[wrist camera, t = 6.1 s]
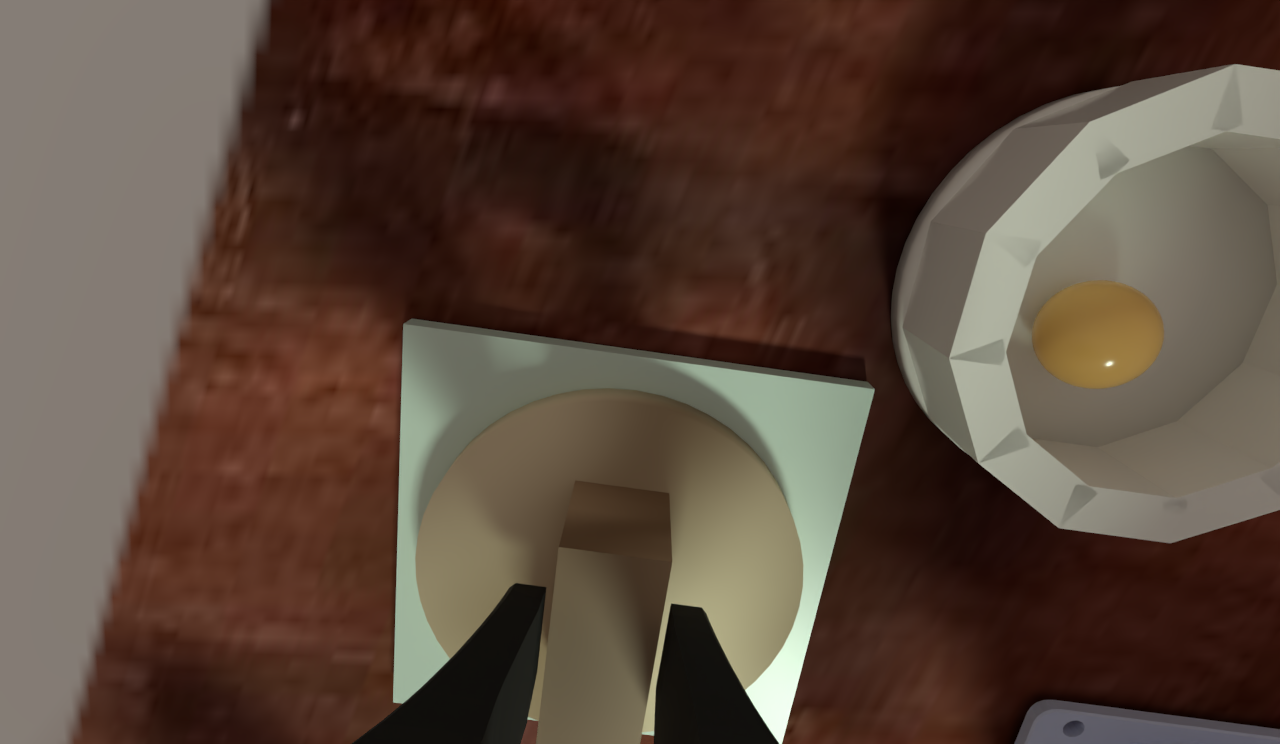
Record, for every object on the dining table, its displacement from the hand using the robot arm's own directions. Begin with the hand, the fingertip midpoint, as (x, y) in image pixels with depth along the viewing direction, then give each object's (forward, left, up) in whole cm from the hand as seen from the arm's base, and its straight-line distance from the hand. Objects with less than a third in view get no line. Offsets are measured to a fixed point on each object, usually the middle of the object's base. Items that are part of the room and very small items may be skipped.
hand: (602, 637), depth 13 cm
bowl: (-9, -7, -3) cm, 12 cm away
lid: (0, 0, -3) cm, 3 cm away
